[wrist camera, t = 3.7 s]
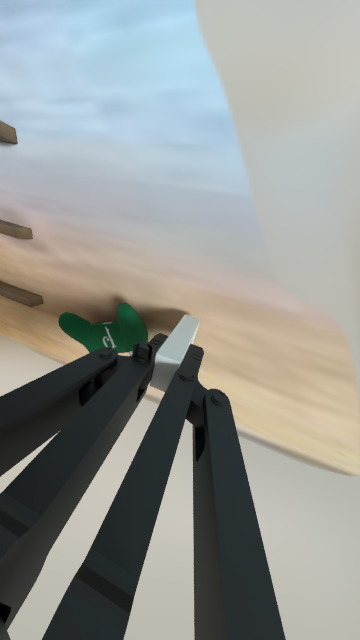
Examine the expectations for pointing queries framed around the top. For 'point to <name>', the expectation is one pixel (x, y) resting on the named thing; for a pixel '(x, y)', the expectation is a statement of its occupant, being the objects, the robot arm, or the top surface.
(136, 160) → the top surface
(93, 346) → the gaming controller
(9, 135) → the letter e shape
